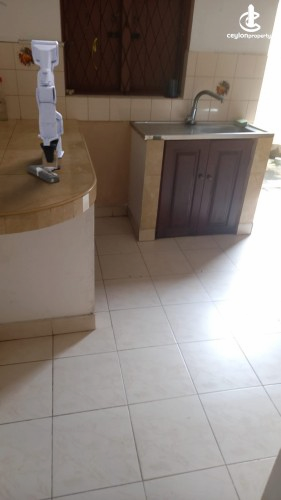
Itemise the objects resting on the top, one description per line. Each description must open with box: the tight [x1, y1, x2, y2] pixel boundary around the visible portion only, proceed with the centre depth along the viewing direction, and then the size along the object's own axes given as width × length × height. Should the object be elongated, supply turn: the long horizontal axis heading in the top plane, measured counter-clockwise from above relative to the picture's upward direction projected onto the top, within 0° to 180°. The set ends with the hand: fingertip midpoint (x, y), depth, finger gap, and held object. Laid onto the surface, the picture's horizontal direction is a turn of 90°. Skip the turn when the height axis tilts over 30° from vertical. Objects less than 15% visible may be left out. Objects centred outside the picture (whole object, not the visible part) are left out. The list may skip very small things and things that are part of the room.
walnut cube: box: [41, 150, 60, 167], centre depth 133 cm, size 5×5×5 cm
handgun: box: [27, 163, 61, 184], centre depth 135 cm, size 2×18×12 cm
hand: (51, 160), depth 133 cm, fingers closed on walnut cube, 5 cm apart
